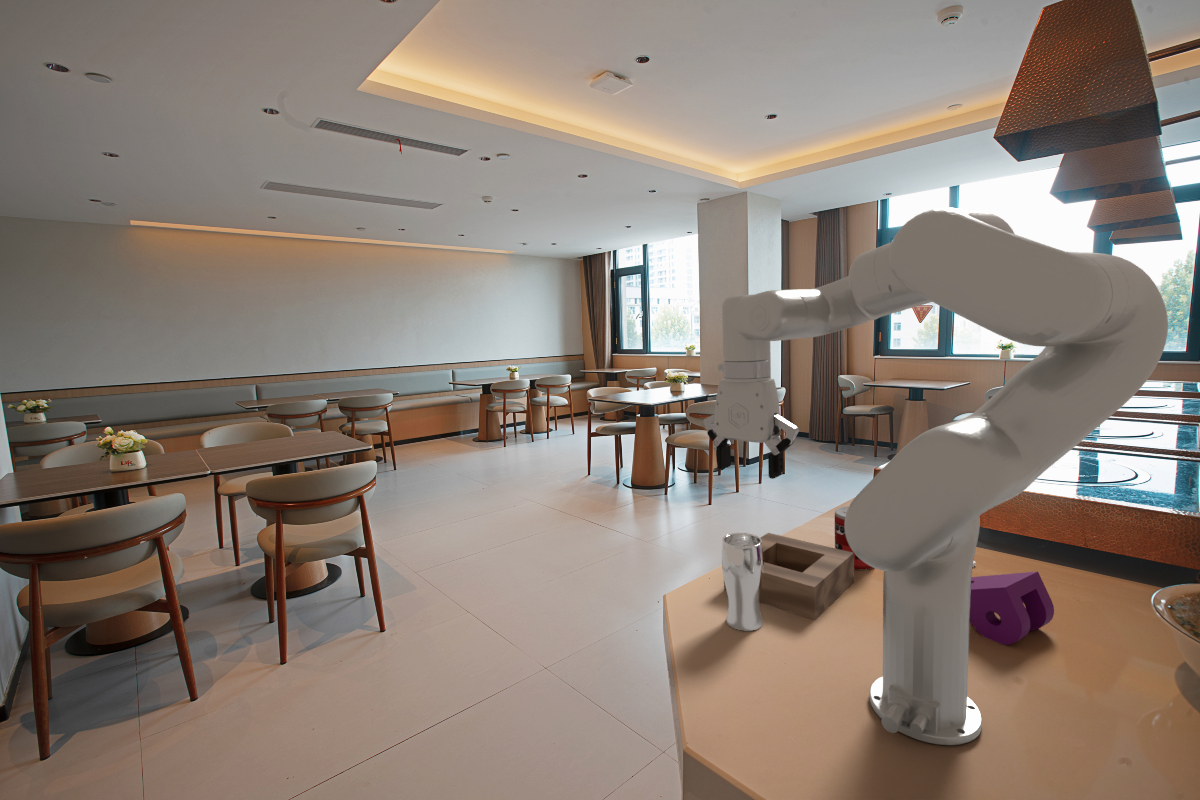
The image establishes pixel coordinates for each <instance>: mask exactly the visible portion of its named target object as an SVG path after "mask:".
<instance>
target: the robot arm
mask: <svg viewBox="0 0 1200 800" xmlns="http://www.w3.org/2000/svg"><path fill="white" fill-rule="evenodd" d="M849 267H850V268H849V271H848V276H847V275H846V276H845V277H842V278H840V279H838V280H835V281H832V282H830V283H827V284H824V285H821V286H819V287H814V288H810V289H809V288H807V289H806V288H804V289H803V288H800V289H799V288H798V289H797V288H795V289H789V288H788V289H774V290H772V289H770V290H766V291H762V292H761V291H760V292H758V293H755V294H741V295H732V296H728V297H727V298H725V299H724V300H723V302H722V306H721V317H722V320H721V321H722V355H723V356H722V357H723V361H722V363H719V364H718V366H717V369H718V372H721V373H722V375H723V378H722V379H719V381H718V384H717V385H718V386H717V390H716V397H715V409H714V413H713V414H712V415H710V416H708V417H705V418H704V419H703V421H702V424H703V425H704V427H705V430H706V431H707V433H706V434H707V436H708V438H710V439H711V441H712V445H713V446H714V447H716V448H715V450H716V453H715V454H716V463H717V470H720V471H721V470H724V469H727V468H729V467H731V465H732V458H731V457H732V455H731V453H732V452H731V450H732V449H731V448H732V447H731V444H730V443H729V441H730V440H734V441H741V442H748V443H756V444H760V443H764V444H765V446H767V448H768V450H769V452H771V453H769V454H768V456H767V460H768V461H767V462H768V463H767V465H768V466H767V467H768V478H769V479H771V480H773V479H776V478H778V477H780V476H782V474H783V472H784V452H786V451H787V449H789V448H790V446H792V445H793V444H794V442H795V440H796V438H797V435H798V434H799V432H800V428H799V427H798V426H797V425H795V424H793V423H792V422H790V421H789V420H787V419H786V418H784V417H783V416H781V411H780V410H781V409H780V401H779V394H778V389H777V386H776V381H775V379H774V378H772V375H771V373H772V369H771V367H772V366H771V363H772V362H771V342H778V341H779V342H780V341H789V340H799V339H808V338H809V339H810V338H817V337H822V336H825V335H828V334H832V333H836V332H840V331H842V330H843V331H844V330H846V329H850V328H853V327H856V326H857V327H858V326H860V325H863V324H866V323H868V322H871V321H876V320H877V319H880V318H882V317H886V316H889V315H892V314H896V313H898V312H903V311H905V310H909V309H912V308H915V307H919V306H922V305H927V304H929V303H934V304H936V305H937V306H939V307H942V308H944V309H945V310H948V311H950V312H951V313H954V314H956V315H958V316H960V317H962V318H964V319H966V320H968V321H970V322H972V323H974V324H976V325H978V326H979V327H982V328H984V329H986V330H989V331H990V332H992V333H994V334H997V335H999V336H1000V337H1002V338H1005V339H1007V340H1010V341H1012V342H1015V343H1019V344H1023V345H1027V346H1032V347H1044V348H1043V349H1042V351H1040V352H1039V354H1038V355H1037V356H1035V357H1034V358H1033V359H1032V360H1030V361H1029V362H1028V363H1027V364H1026V365H1024V366H1023V367H1022V368H1020V369H1019V370H1018V371H1017V372H1016V373H1015V374H1014V375H1012V377H1010V378H1009V379H1008V380H1007V381H1006V382H1005V384H1004V385H1003V386H1002V387H1001V388H1000V389H998V390H997V392H996V393H995V394H993V395H992V396H991V398H989V399H988V400H987V401H986V402H985V403H984V404H982V406H980V407H979V408H978V409H977V410H975V411H974V412H973V413H971V414H970V415H968V416H965V417H963V418H960V419H958V420H955V421H951V422H948V423H945V424H941V425H938V426H935V427H933V428H931V429H928V430H926V431H924V432H922V433H921V434H919V435H918V436H916V437H915V438H913V439H912V440H911V441H909V442H908V443H907V444H906V445H905V446H903V447H902V448H901V449H899V451H898V452H897V454H895V455H894V456H893V458H891V460H890V461H888V463H887V464H886V465H885V466H883V468H882V469H881V470H879V472H878V473H877V474H876V475H875V476H874V477H873V478H872V479H870V481H869V482H868V483H867V484H866V485H865V486H864V487H863V488H862V489H861V490H860V491H859V492H858V494H857V495H856V496H855V497H854V498H853V500H852V501H851V502H850V504H849V506H848V507H849V508H848V510H847V513H846V516H845V535H846V539H847V541H848V544H849V546H850V548H851V549H852V551H853V552H854V553H855V555H856V556H857V557H858V558H859V559H860V560H862V561H863V562H864V563H866V564H868V565H869V566H871V567H873V568H874V569H876V570H880V571H883V577H882V579H883V581H882V585H883V586H882V587H883V588H882V589H883V590H882V676H880V677H877V678H876V679H875V680H874V681H873V682H872V683H871V685H870V687H869V702H870V705H871V707H872V709H873V711H874V712H875V714H876V715H877V716H878V717H879V718H880V719H881V721H880V722H881V725H882V727H883V729H885V730H886V731H887V732H889V733H891V734H895V733H898V732H900V733H901V734H903V735H906V736H908V737H910V738H913V739H915V740H916V741H917V740H918V741H921V742H924V743H928V744H934V745H938V746H939V745H941V746H942V745H943V746H956V745H962V744H963V745H964V744H966V743H970V742H972V741H974V740H975V739H976V738H978V737H979V735H980V734H981V731H982V726H983V718H982V713H981V711H980V710H979V708H978V706H977V705H976V703H974V701H973V700H972V699H971V698H969V697H968V693H969V692H968V691H969V689H968V688H969V686H968V685H969V657H970V656H969V653H970V651H969V649H970V648H969V647H970V619H969V618H970V595H971V577H973V576H972V575H973V568H974V567H973V561H975V559H974V558H975V555H976V551H977V546H978V539H979V536H980V525H981V523H980V522H981V521H980V516H982V515H983V514H984V513H986V512H988V511H989V510H991V509H993V508H995V507H997V506H999V505H1001V504H1003V503H1005V502H1007V501H1010V500H1012V499H1014V498H1015V497H1017V496H1018V495H1020V494H1021V493H1023V492H1024V491H1025V490H1026V489H1028V487H1030V485H1032V484H1033V483H1034V482H1035V481H1036V480H1037V479H1038V478H1039V477H1040V476H1042V474H1043V473H1044V472H1046V471H1047V470H1048V469H1049V468H1050V467H1051V466H1053V465H1054V464H1055V463H1057V462H1058V461H1059V460H1060V459H1061V458H1063V457H1064V456H1065V455H1066V454H1067V453H1069V452H1070V451H1071V450H1072V449H1074V448H1075V447H1076V446H1078V445H1079V444H1080V443H1081V442H1082V441H1083V440H1085V438H1087V437H1088V436H1089V435H1090V434H1092V432H1093V431H1095V430H1096V429H1097V428H1098V427H1099V426H1100V425H1102V424H1103V423H1104V422H1106V421H1107V420H1108V419H1109V418H1110V417H1111V416H1112V415H1114V414H1115V413H1117V411H1119V410H1120V409H1121V408H1122V407H1123V406H1124V405H1125V404H1126V403H1127V402H1128V401H1130V399H1131V398H1133V396H1135V395H1136V393H1137V392H1138V391H1139V390H1140V389H1141V388H1142V387H1143V385H1145V384H1146V382H1147V381H1148V380H1149V378H1150V377H1151V375H1152V374H1153V372H1154V371H1155V369H1156V367H1157V366H1158V365H1159V364H1158V363H1159V362H1160V360H1161V357H1162V355H1163V352H1164V349H1165V346H1166V343H1167V337H1168V331H1169V330H1168V329H1169V321H1168V320H1169V318H1168V312H1167V307H1166V305H1165V302H1164V298H1163V296H1162V294H1161V292H1160V290H1159V288H1158V286H1157V284H1156V283H1155V282H1154V280H1153V279H1152V278H1151V277H1150V275H1149V274H1147V273H1146V272H1145V271H1144V269H1142V268H1141V267H1139V266H1138V265H1136V264H1135V263H1133V262H1132V261H1130V260H1127V259H1124V258H1122V257H1120V256H1116V255H1112V254H1107V253H1102V252H1101V253H1099V252H1077V251H1076V252H1074V251H1065V250H1061V249H1059V248H1056V247H1052V246H1051V245H1050V246H1049V245H1046V244H1044V243H1041V242H1038V241H1035V240H1033V239H1029V238H1026V237H1023V236H1020V235H1017V234H1015V231H1014V230H1013V228H1012V227H1011V226H1010V224H1009V223H1008V222H1006V221H1005V220H1004V219H1003V218H1001V217H1000V216H998V215H996V214H993V213H991V212H985V211H981V210H980V211H979V210H973V209H971V210H970V209H965V208H964V209H963V208H955V207H939V208H933V209H930V210H926V211H923V212H921V213H919V214H917V215H915V216H914V217H912V218H911V219H909V220H908V221H906V223H904V225H902V226H901V227H900V228H899V230H898V231H897V232H896V233H895V235H894V237H893V239H892V241H891V242H888V243H886V244H883V245H881V246H879V247H876V248H873V249H870V250H868V251H865V252H862V253H861V254H859V255H857V256H856V257H855V258H854V260H853V261H852V263H851V264H850V266H849ZM781 430H783V431H784V432H785V434H784V438H783V439H781V437H780V435H781ZM873 568H872V569H873Z"/></svg>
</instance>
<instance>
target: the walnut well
mask: <svg viewBox="0 0 1200 800" xmlns="http://www.w3.org/2000/svg"><path fill="white" fill-rule="evenodd" d="M760 538H761V540H762V548H763V558H764V574H763V582H762V588H761V594H760V603H763V604H765V605H768V606H770V607H774V608H776V609H777V608H778V609H780V610H783V611H786V612H790V613H792V614H795V615H798V616H802V617H804V618H805V617H806V618H808V619H811V620H815V621H816V620H817V619H818V618H819V617H820V616H821V614H823V613H824V612H825V611H826V610H827V609H828V608H829V607H830V606H831V605H832V604H833V603H835V601H836V600H837V599H838V598H839V597H840V596H841V595H843V593H844V592H845V591H847V590H848V589H849V587H850V586H852V584H854V583H855V569H854V553H853V552H849V551H844V550H840V549H836V548H835V547H831V546H827V545H823V544H818V543H814V542H809V541H806V540H800V539H798V538H797V539H796V538H792V537H788V536H785V535H784V536H783V535H780V534H775V533H772V532H771V533H770V532H767V533H766V534H764V535H763V536H761V537H760ZM723 587H724V588H723V590H724V591H726V592H727V590H726V586H725V581H724V580H723Z"/></svg>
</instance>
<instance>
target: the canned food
mask: <svg viewBox="0 0 1200 800" xmlns="http://www.w3.org/2000/svg"><path fill="white" fill-rule="evenodd" d="M848 508H849V506H842V507H838V508H836V509H835V510H834V548H836V549H840V550H844V551H849V552H853V551H852V549H851V548H850V546H849V544H848V541H847V539H846V535H845V516H846V513H847V510H848ZM853 553H854V552H853ZM870 568H871V569H873V567H871V566H869V565H868V564H866V563H864V562H863V561H862V560H860V559H859V558H858V557H857V556H856V555H855V553H854V570H856V569H867V570H870Z"/></svg>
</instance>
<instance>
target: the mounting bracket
mask: <svg viewBox="0 0 1200 800" xmlns="http://www.w3.org/2000/svg"><path fill="white" fill-rule="evenodd" d="M996 614H997V616H999V618H998V617H997V616H996ZM1054 615H1055V606H1054V604H1053V600H1052V598H1051V597H1050V594H1049V592H1048V590H1047V588H1046V585H1045V583H1044V581H1043V579H1042V577H1041V575H1040V573H1039V571H1029V572H1028V571H1026V572H1017V573H1016V572H1015V573H1014V572H1013V573H1006V574H1005V573H1004V574H993V575H991V574H990V575H980V576H979V575H978V576H972V577H971V595H970V618H969V622H970V623H971V625H972V626H973V627H974V629H975V631H977V632H978V634H980V635H981V636H982V637H984V638H986V639H988V640H991V641H994V642H996V643H998V644H999V645H1003V646H1008V645H1012V644H1015V643H1016V642H1018V641H1020V640H1022V639H1023V638H1025V637H1026V636H1027V635H1028V634H1029V632H1033V631H1037V630H1039V629H1041V628H1043V627H1044V626H1046V625H1047V624H1049V623H1050V622H1051V621H1052V620H1053V618H1054Z"/></svg>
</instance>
